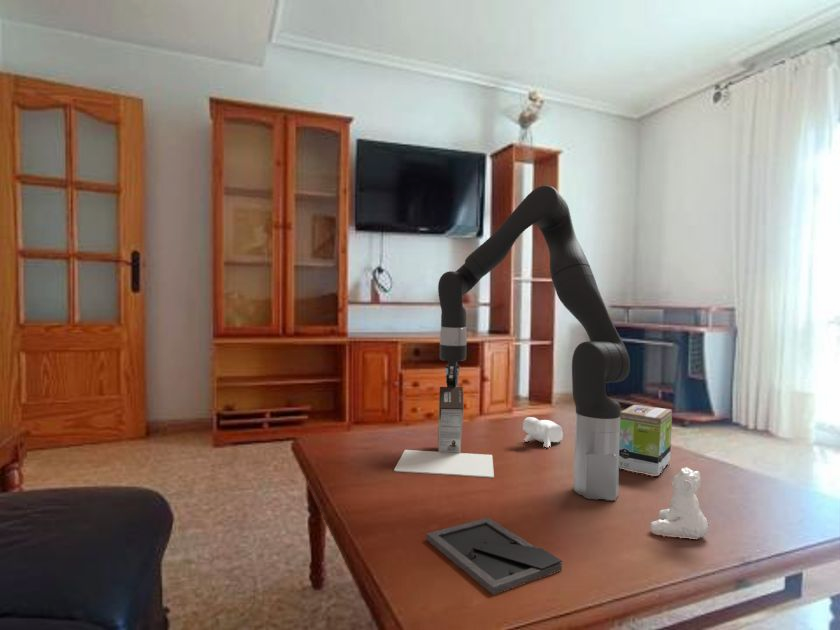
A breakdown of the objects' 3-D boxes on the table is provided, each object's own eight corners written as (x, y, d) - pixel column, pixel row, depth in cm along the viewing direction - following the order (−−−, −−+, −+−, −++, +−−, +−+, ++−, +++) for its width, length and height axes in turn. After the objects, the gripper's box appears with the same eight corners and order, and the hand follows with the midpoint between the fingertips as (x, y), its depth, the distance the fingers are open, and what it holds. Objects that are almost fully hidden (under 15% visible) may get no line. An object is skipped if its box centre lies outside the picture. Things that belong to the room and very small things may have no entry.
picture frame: (561, 573, 73) (487, 525, 88) (561, 560, 73) (488, 515, 88) (493, 598, 66) (426, 542, 82) (493, 584, 66) (426, 530, 82)
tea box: (659, 478, 114) (661, 417, 114) (616, 469, 121) (617, 411, 120) (671, 463, 126) (672, 408, 126) (630, 455, 133) (632, 402, 132)
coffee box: (437, 429, 138) (439, 385, 131) (459, 430, 138) (462, 385, 130) (438, 453, 130) (439, 407, 123) (461, 453, 130) (464, 407, 122)
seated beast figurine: (661, 516, 93) (662, 455, 93) (712, 530, 87) (714, 465, 87) (648, 533, 86) (650, 467, 85) (703, 550, 80) (705, 479, 80)
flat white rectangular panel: (493, 477, 113) (493, 476, 113) (393, 471, 116) (393, 470, 116) (492, 456, 129) (492, 454, 129) (404, 450, 132) (404, 449, 132)
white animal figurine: (538, 448, 149) (511, 437, 140) (545, 421, 151) (518, 409, 142) (562, 454, 142) (535, 444, 133) (569, 427, 144) (542, 414, 135)
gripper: (465, 346, 127) (464, 410, 128) (467, 340, 140) (466, 399, 141) (437, 345, 128) (436, 409, 129) (441, 339, 141) (440, 397, 142)
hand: (451, 403), depth 135 cm, fingers closed
